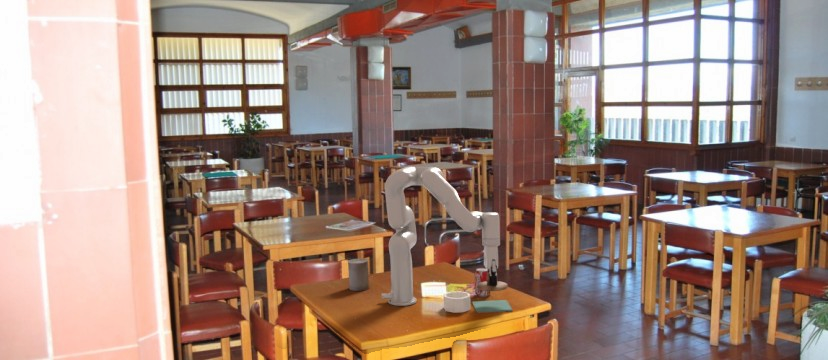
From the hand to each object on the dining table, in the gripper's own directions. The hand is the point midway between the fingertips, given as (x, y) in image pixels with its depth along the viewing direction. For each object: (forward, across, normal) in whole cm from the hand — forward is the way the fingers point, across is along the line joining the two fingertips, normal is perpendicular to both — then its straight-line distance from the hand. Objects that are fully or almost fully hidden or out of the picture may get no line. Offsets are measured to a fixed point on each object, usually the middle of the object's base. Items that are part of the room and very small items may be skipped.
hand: (492, 283), depth 295 cm
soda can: (+11, -19, -1) cm, 22 cm away
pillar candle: (+10, -39, -58) cm, 71 cm away
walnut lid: (+2, 0, 0) cm, 2 cm away
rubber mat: (+11, 0, 0) cm, 11 cm away
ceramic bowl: (+10, 0, -15) cm, 19 cm away
